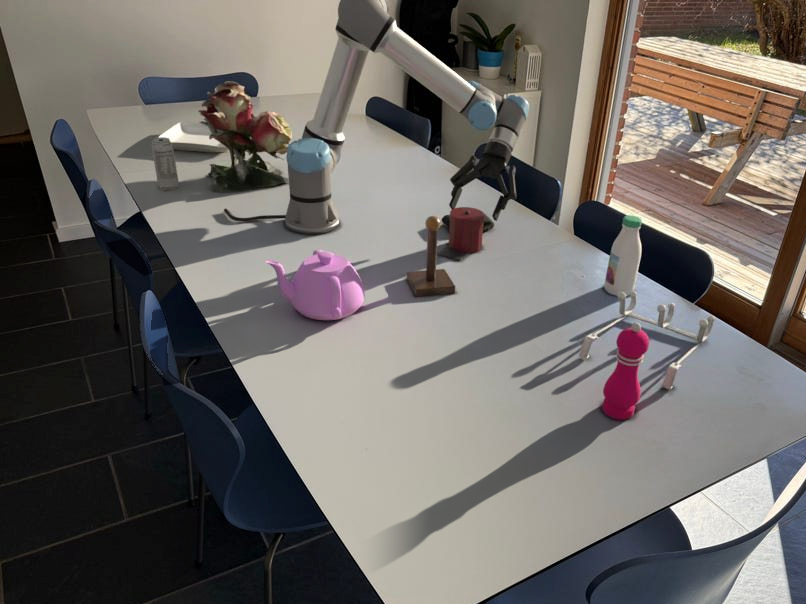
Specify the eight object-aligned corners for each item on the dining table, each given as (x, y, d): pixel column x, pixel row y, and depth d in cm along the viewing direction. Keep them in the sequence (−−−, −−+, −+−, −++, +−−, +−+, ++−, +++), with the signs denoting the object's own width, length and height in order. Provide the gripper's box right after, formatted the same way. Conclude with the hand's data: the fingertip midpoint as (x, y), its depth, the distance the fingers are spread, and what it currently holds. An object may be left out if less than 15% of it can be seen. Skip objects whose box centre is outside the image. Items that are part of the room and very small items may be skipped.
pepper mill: (596, 399, 146) (613, 313, 135) (630, 399, 147) (650, 314, 136) (604, 421, 140) (622, 332, 129) (640, 421, 141) (661, 333, 130)
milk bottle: (635, 287, 191) (650, 216, 180) (630, 299, 185) (646, 226, 174) (606, 281, 193) (620, 210, 182) (601, 293, 187) (614, 220, 176)
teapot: (262, 293, 173) (257, 240, 166) (351, 282, 181) (350, 231, 174) (279, 339, 157) (274, 282, 149) (376, 325, 165) (376, 270, 157)
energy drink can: (179, 183, 230) (171, 136, 222) (179, 190, 226) (171, 142, 217) (158, 184, 228) (150, 136, 220) (158, 191, 224) (149, 142, 216)
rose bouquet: (303, 182, 239) (297, 88, 223) (215, 195, 224) (201, 95, 208) (275, 160, 256) (267, 71, 240) (190, 170, 242) (177, 76, 226)
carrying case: (451, 236, 210) (497, 232, 215) (452, 227, 209) (498, 223, 214) (439, 223, 218) (484, 219, 224) (439, 213, 217) (484, 209, 222)
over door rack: (712, 338, 171) (722, 302, 166) (671, 394, 149) (682, 355, 144) (627, 310, 180) (635, 275, 174) (578, 359, 158) (584, 321, 153)
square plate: (230, 157, 256) (229, 146, 253) (152, 151, 255) (151, 140, 253) (252, 136, 278) (251, 126, 276) (180, 130, 278) (179, 120, 275)
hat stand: (415, 296, 178) (417, 225, 168) (406, 278, 186) (408, 209, 176) (454, 293, 181) (459, 223, 171) (444, 275, 188) (447, 208, 178)
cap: (458, 237, 210) (460, 202, 205) (487, 245, 207) (490, 209, 201) (433, 253, 200) (435, 217, 194) (464, 262, 196) (466, 225, 190)
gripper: (542, 163, 205) (515, 229, 202) (465, 146, 214) (438, 209, 211) (537, 148, 199) (509, 216, 195) (457, 132, 207) (429, 196, 204)
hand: (472, 213), depth 203 cm, fingers open, 13 cm apart
